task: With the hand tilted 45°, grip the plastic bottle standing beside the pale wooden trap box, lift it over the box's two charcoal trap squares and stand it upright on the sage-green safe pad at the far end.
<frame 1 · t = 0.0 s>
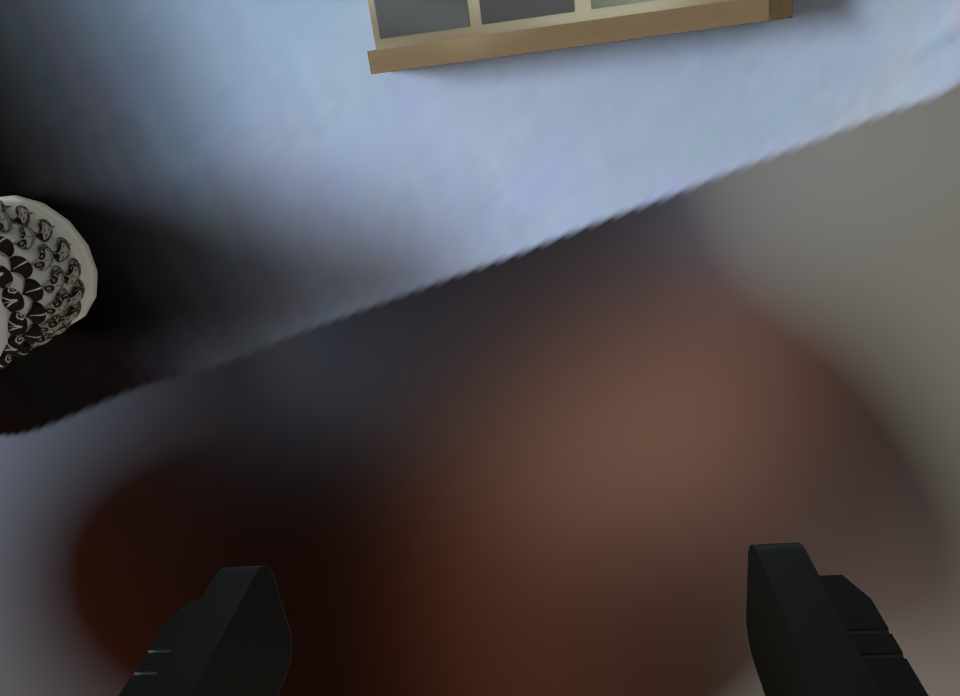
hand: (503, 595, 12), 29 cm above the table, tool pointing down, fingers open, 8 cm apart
decorative candle: (32, 263, 42), on the table
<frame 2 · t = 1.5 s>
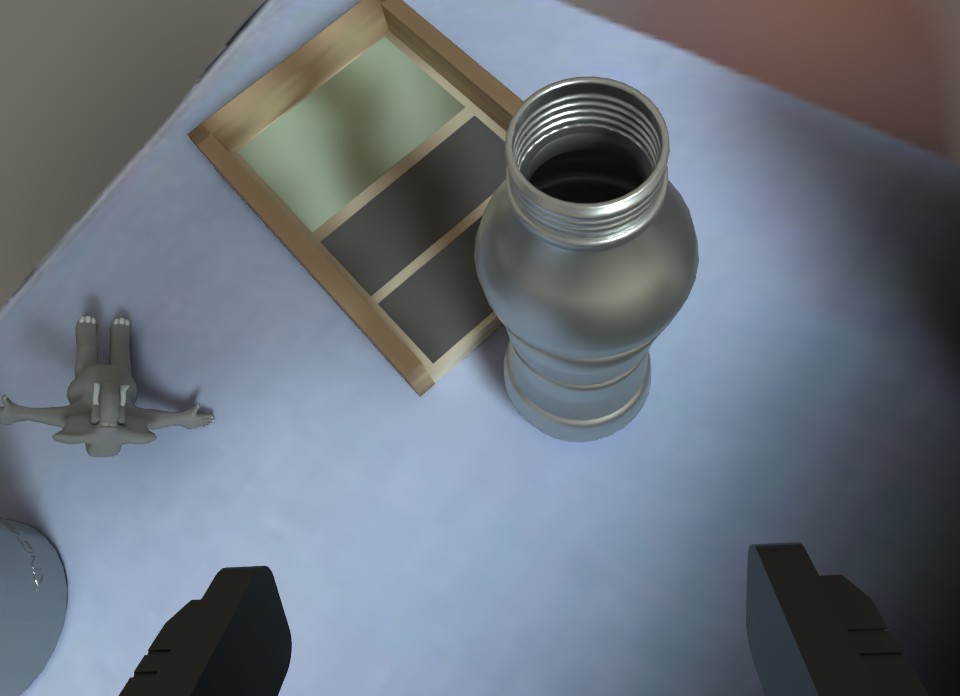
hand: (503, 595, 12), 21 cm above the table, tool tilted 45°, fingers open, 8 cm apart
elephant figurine: (129, 410, 37), on the table
trap box: (413, 200, 39), on the table
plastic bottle: (576, 388, 35), on the table
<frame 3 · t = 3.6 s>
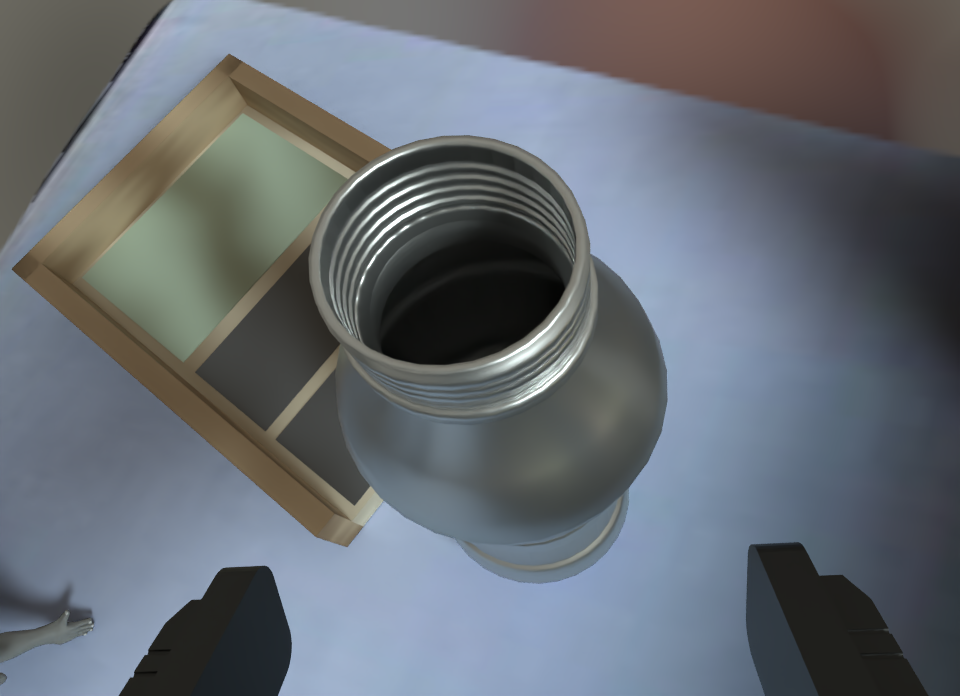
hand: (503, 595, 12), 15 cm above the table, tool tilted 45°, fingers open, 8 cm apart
trap box: (305, 299, 32), on the table
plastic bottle: (538, 501, 28), on the table
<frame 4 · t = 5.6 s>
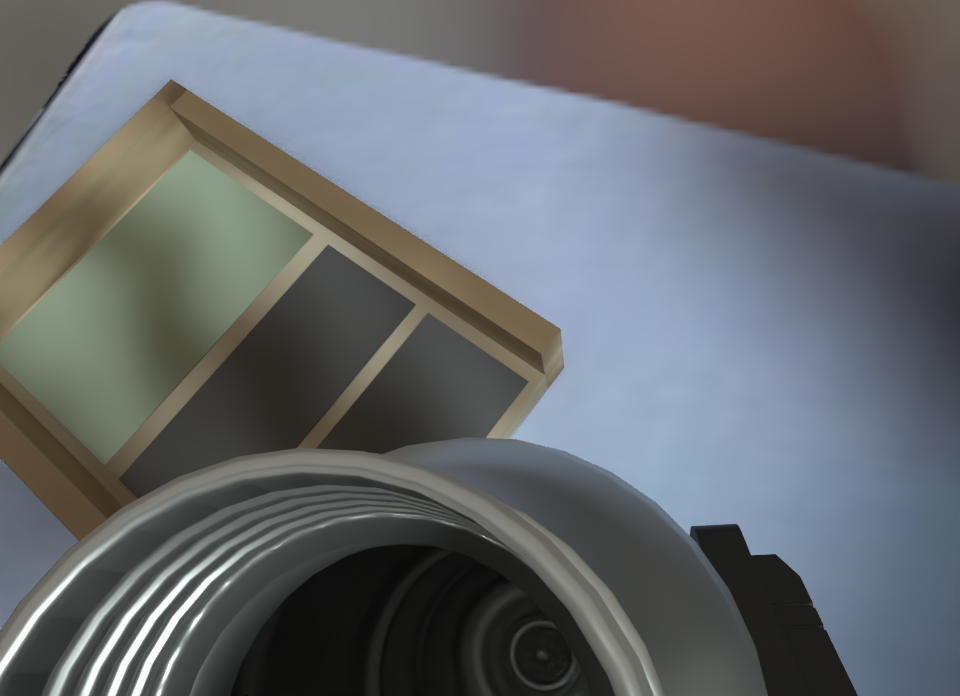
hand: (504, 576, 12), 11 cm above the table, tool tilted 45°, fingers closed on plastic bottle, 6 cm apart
trap box: (259, 380, 26), on the table
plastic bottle: (545, 654, 22), on the table, touching gripper
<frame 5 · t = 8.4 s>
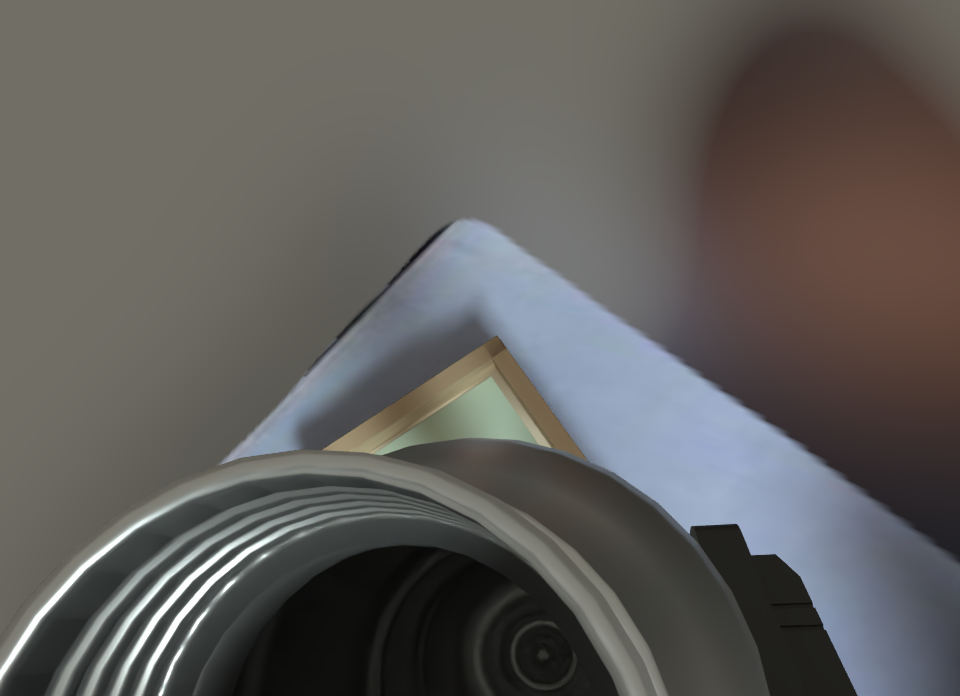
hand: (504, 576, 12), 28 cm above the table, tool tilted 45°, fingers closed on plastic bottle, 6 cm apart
trap box: (497, 559, 40), on the table
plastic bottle: (546, 654, 22), point 17 cm above the table, touching gripper
when the fingers open (14 cm above the table, at t = 11.6 s): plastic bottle drops 1 cm, resting on trap box.
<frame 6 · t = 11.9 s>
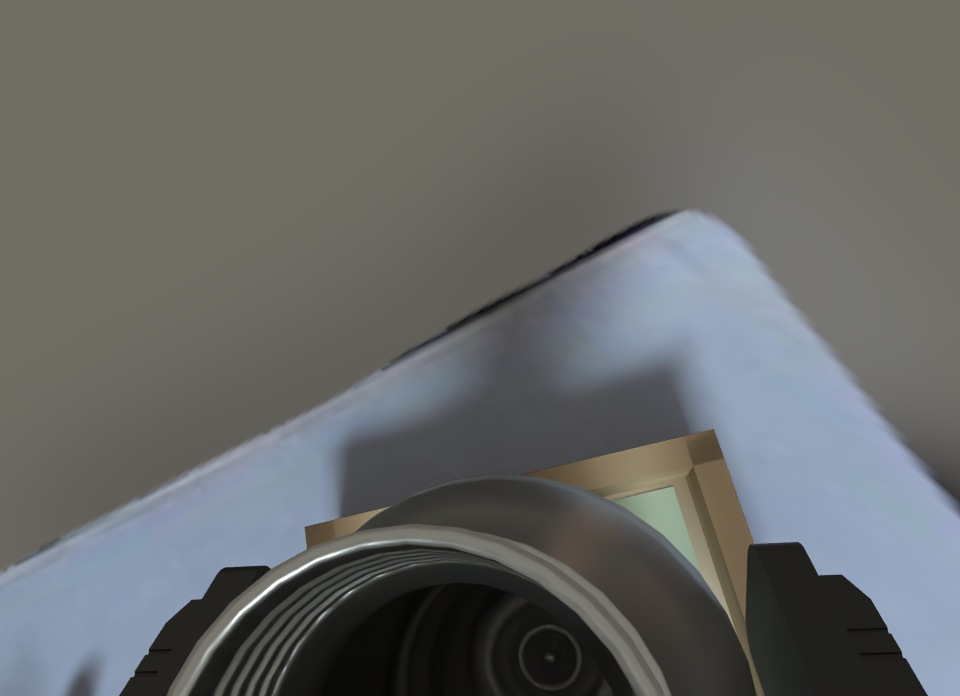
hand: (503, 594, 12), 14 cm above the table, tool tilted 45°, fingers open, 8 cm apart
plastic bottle: (551, 656, 23), point 1 cm above the table, touching trap box
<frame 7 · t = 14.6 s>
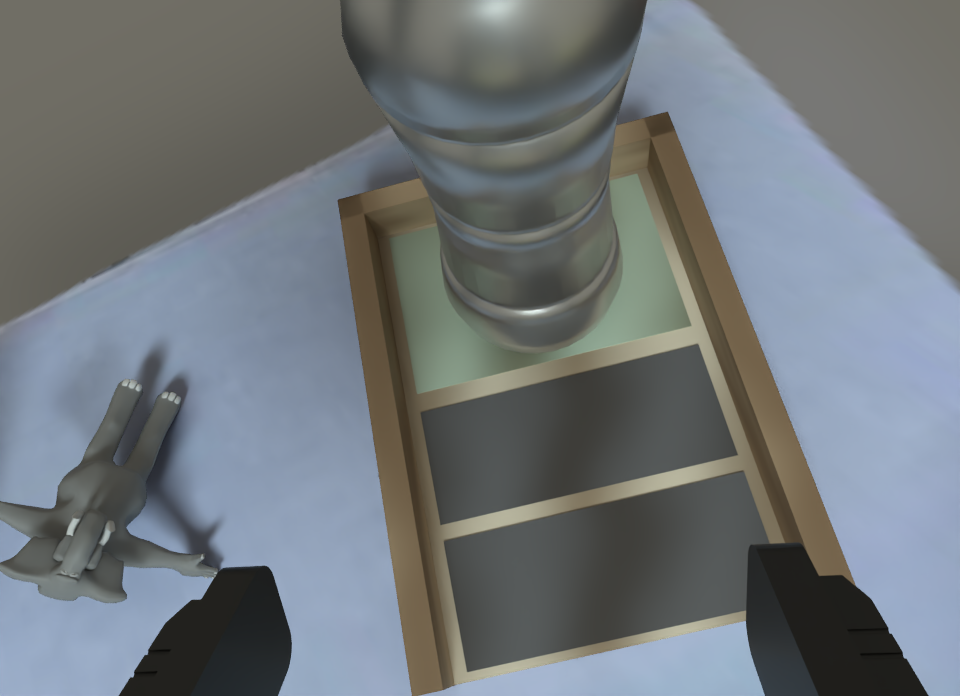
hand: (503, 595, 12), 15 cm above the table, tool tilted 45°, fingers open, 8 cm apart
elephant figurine: (137, 506, 30), on the table
trap box: (563, 407, 28), on the table
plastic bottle: (537, 297, 29), point 1 cm above the table, touching trap box
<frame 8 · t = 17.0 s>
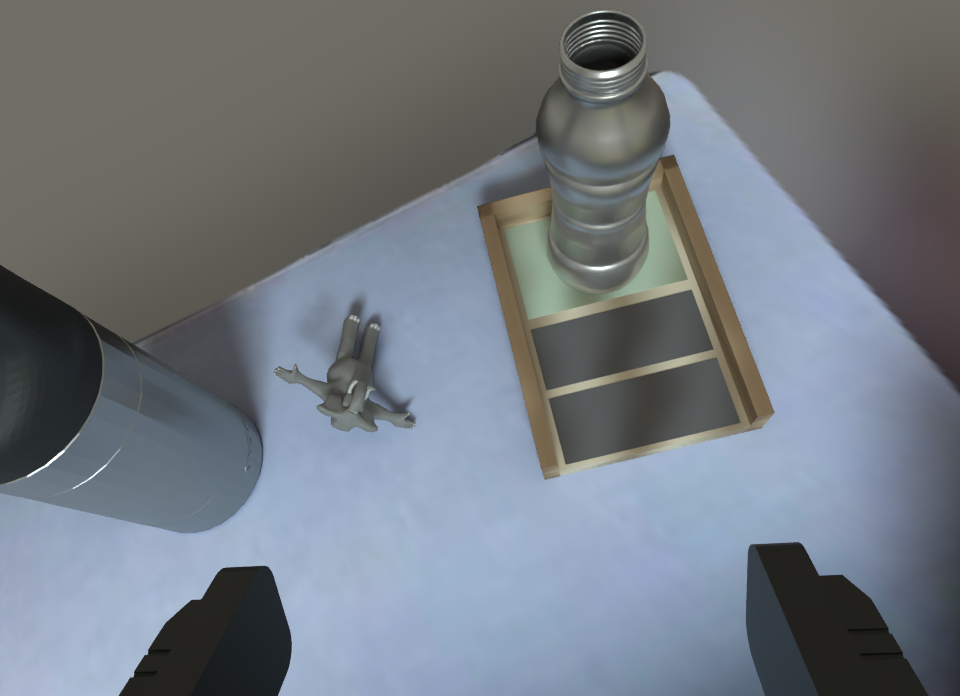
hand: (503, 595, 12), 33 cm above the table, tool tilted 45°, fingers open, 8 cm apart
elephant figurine: (356, 392, 49), on the table
trap box: (612, 328, 48), on the table
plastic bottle: (596, 264, 48), point 1 cm above the table, touching trap box
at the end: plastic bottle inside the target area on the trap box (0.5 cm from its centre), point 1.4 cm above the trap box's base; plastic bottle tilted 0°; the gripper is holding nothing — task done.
